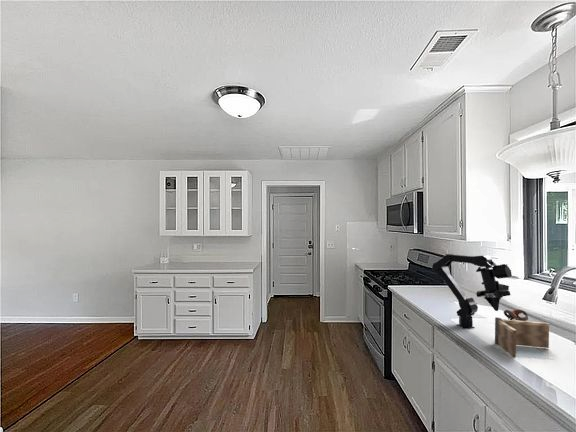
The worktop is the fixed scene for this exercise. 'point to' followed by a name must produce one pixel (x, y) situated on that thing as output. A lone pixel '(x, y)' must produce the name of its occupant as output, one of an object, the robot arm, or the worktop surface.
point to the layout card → (526, 352)
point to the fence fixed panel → (505, 336)
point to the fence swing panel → (530, 333)
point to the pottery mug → (516, 315)
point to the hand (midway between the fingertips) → (496, 310)
